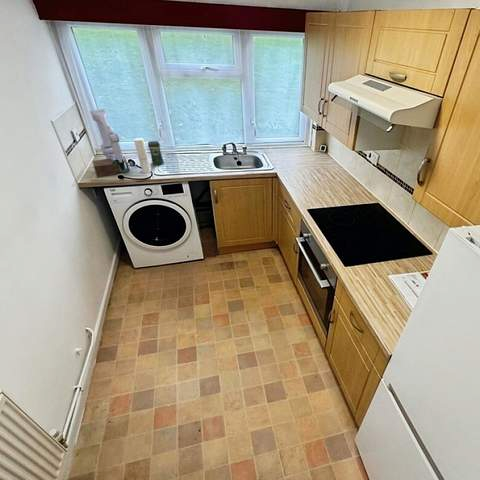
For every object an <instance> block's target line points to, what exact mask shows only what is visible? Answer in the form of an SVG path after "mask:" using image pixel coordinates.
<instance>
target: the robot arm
mask: <svg viewBox="0 0 480 480" xmlns="http://www.w3.org/2000/svg"><path fill="white" fill-rule="evenodd" d="M89 112H90V116H91V119H92V121H93V122H95V123H96V125H97V128H98V131H99V134H100V137H101V141H102V143H101V144H100V150H101V153H102V155H103V156H105V159H112V160H117V163H118V164H119V166H120V168H121V170H125V168H124V164H125V161H124V158H125V159H126V156H125V155H123V151H122V148H121V145H120V137H119V135H118V133H116V132H115V130H114V129H113V127H112V126H111V125H109V122H108V120H107V119H108V114H107V112H106V110H105V109H104V108H100V109H90V111H89Z"/></svg>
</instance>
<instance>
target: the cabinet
mask: <svg viewBox="0 0 480 480" xmlns="http://www.w3.org/2000/svg"><path fill="white" fill-rule="evenodd" d="M92 165H93V168H94V171H95V174H96V176H97V178H103V177H110V176H117V173H116V172H115V169H114V166H113V163H112V161H111V159H106V158H105V159H104V158H103V159H95V160H92Z"/></svg>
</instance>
